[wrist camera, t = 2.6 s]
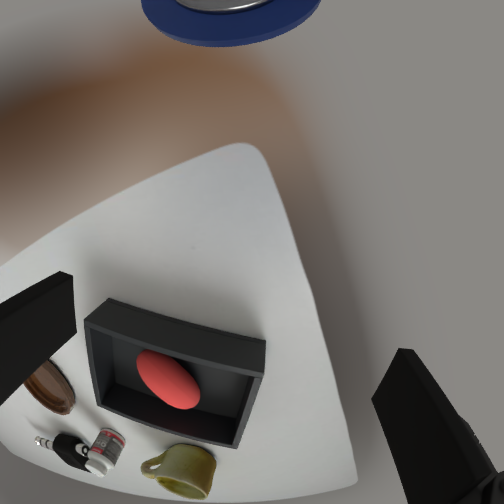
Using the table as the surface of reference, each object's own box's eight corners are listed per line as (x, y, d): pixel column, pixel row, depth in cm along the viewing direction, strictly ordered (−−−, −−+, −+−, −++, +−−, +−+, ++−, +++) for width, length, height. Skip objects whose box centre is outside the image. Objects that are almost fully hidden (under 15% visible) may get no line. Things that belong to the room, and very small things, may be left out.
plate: (15, 336, 36) (7, 342, 33) (68, 367, 35) (61, 375, 33) (31, 387, 40) (25, 394, 37) (82, 417, 39) (76, 425, 37)
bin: (108, 297, 31) (83, 319, 25) (266, 340, 31) (264, 372, 25) (113, 381, 35) (97, 405, 29) (241, 418, 35) (237, 449, 29)
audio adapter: (102, 479, 39) (42, 457, 43) (110, 464, 44) (50, 446, 48) (74, 452, 37) (19, 431, 40) (84, 436, 42) (28, 419, 45)
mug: (229, 456, 35) (204, 505, 27) (221, 465, 41) (200, 506, 33) (160, 423, 37) (131, 468, 29) (163, 438, 43) (139, 475, 35)
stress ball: (185, 333, 32) (144, 350, 27) (217, 399, 30) (181, 424, 25) (163, 342, 35) (125, 357, 29) (192, 401, 33) (157, 422, 28)
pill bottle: (110, 425, 39) (89, 462, 29) (131, 443, 40) (113, 480, 30) (97, 429, 40) (76, 462, 31) (116, 445, 41) (99, 479, 32)
